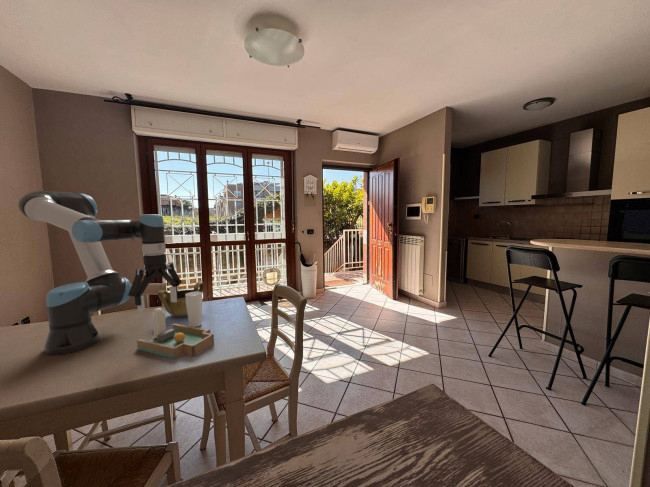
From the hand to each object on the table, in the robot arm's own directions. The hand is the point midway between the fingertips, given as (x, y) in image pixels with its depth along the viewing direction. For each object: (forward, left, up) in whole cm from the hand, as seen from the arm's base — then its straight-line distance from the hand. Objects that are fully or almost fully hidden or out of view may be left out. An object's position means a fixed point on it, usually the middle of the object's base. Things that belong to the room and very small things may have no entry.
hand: (158, 307), depth 102 cm
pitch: (+10, 0, -14) cm, 17 cm away
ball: (+10, 0, -11) cm, 15 cm away
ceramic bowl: (-15, +24, -14) cm, 32 cm away
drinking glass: (+1, +16, -14) cm, 21 cm away
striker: (+1, 0, -12) cm, 12 cm away
